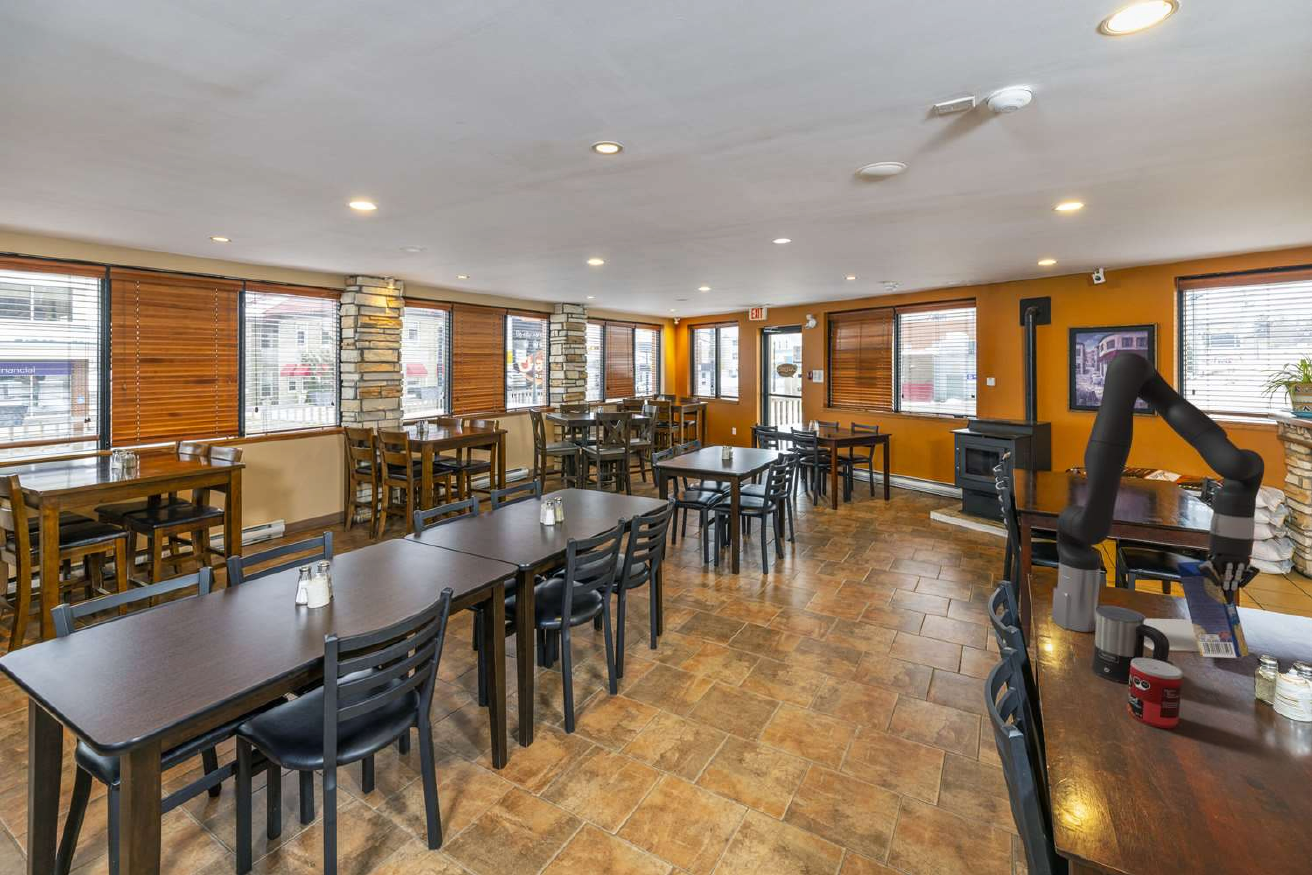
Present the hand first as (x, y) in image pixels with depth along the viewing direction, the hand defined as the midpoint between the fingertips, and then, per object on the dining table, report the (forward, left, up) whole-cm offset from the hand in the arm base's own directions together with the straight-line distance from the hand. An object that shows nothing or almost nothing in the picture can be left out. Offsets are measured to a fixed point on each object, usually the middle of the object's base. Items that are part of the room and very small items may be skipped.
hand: (1223, 603), depth 143 cm
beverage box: (0, -1, -13) cm, 13 cm away
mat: (0, +15, -14) cm, 21 cm away
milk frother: (-25, -7, -15) cm, 30 cm away
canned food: (-35, -27, -15) cm, 46 cm away
